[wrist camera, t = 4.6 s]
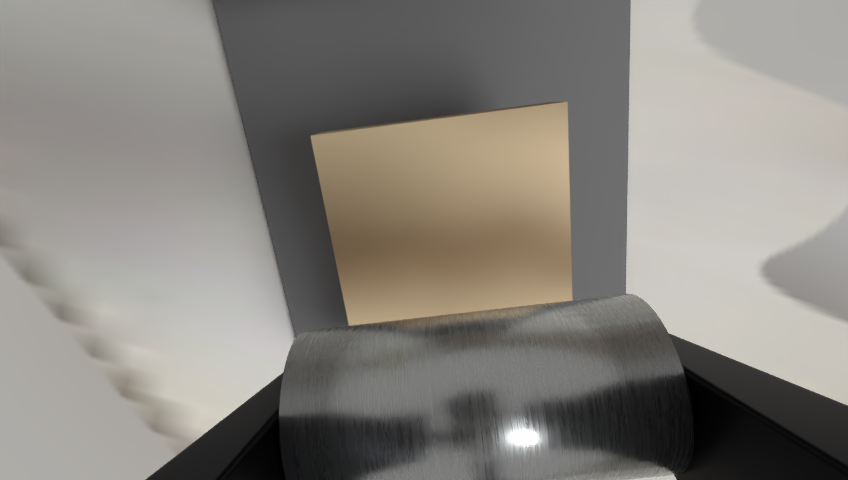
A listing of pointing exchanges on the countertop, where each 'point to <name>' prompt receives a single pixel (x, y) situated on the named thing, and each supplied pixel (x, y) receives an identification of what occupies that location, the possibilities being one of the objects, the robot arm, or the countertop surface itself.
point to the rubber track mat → (426, 109)
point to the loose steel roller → (489, 397)
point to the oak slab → (449, 212)
